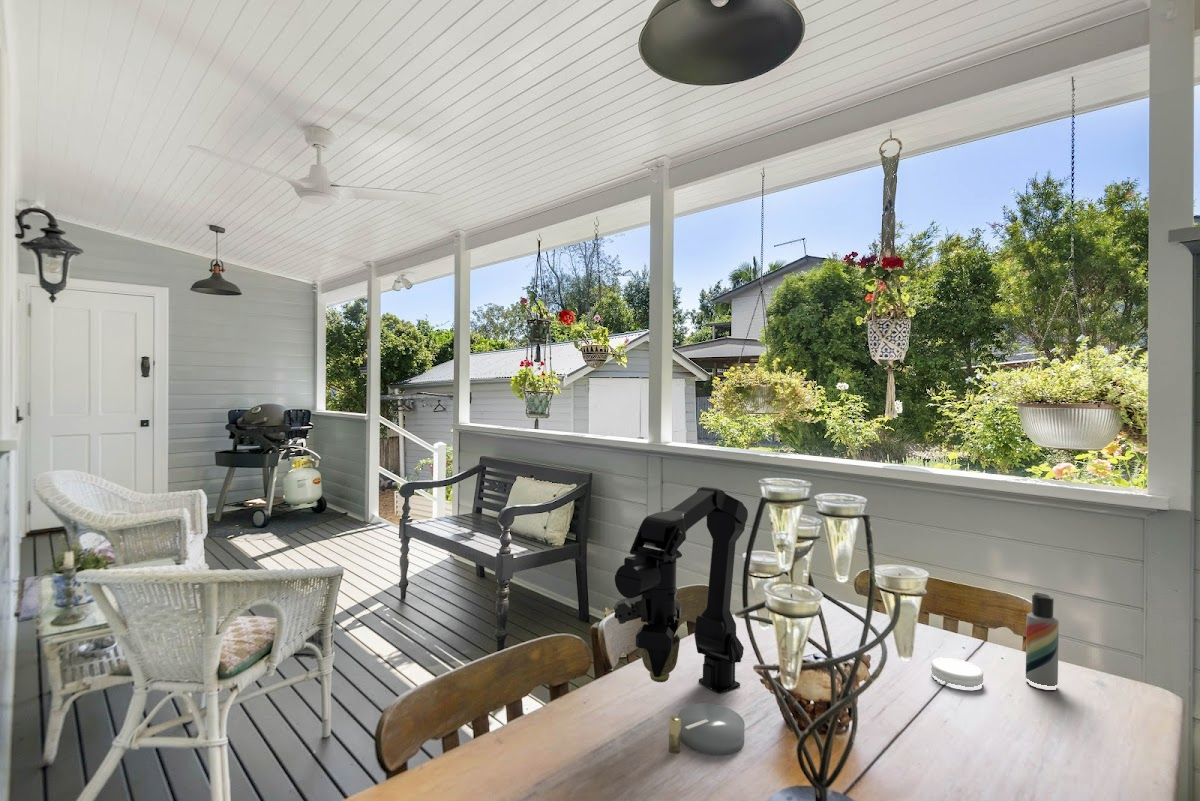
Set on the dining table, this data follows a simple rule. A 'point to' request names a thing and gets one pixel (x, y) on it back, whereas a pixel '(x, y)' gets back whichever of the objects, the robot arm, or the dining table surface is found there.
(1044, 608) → the lotion bottle
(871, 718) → the dining table surface
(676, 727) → the brass dowel
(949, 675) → the coaster
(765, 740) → the dining table surface
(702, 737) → the computer mouse
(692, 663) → the dining table surface
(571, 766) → the dining table surface
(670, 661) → the cup
